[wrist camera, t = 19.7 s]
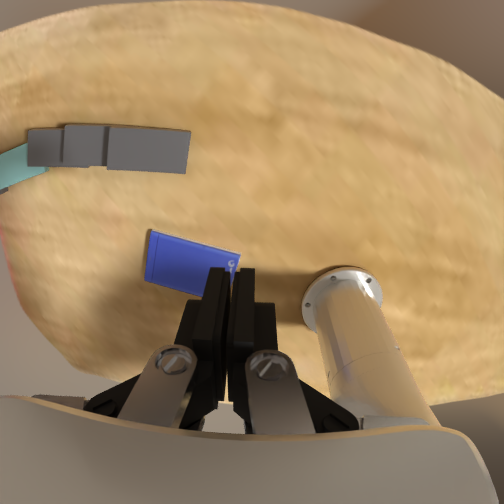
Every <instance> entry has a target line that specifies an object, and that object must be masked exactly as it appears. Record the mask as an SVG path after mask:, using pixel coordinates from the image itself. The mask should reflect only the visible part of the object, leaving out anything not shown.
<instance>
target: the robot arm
mask: <svg viewBox="0 0 504 504" xmlns="http://www.w3.org/2000/svg"><path fill="white" fill-rule="evenodd" d="M254 292H255V268H241V269H240V272H235V273H234V281H233V289H232V297H231V273H230V271H225V267H210V270H209V274H208V277H207V281H206V285H205V289H204V293H203V296H202V300H191V299H189V300H188V301H187V303H186V306H185V309H184V313H183V316H182V319H181V322H180V325H179V329H178V332H177V335H176V338H175V342H174V345H167V346H164V347H161V348H159V349H158V350H156V351H155V352H154V353H153V355H152V356H151V358H150V359H149V361H148V363H147V365H146V366H145V368H144V370H143V372H142V373H141V374H139V375H137V376H135V377H133V378H131V379H129V380H127V381H125V382H123V383H121V384H119V385H117V386H115V387H112V388H110V389H108V390H106V391H104V392H102V393H100V394H98V395H96V396H94V397H93V398H91V399H90V400H86V398H85V397H73V396H54V395H34V396H32V397H27V396H18V395H0V504H499V502H498V498H497V495H496V492H495V489H494V486H493V483H492V480H491V478H490V475H489V473H488V470H487V468H486V465H485V463H484V461H483V459H482V457H481V455H480V453H479V451H478V450H477V448H476V446H475V445H474V444H473V442H472V441H471V440H470V439H469V438H468V437H467V436H466V435H464V434H463V433H461V432H459V431H456V430H453V429H449V428H446V427H442V426H441V425H440V423H439V422H438V420H437V419H436V417H435V416H434V414H433V412H432V411H431V409H430V408H429V406H428V404H427V402H426V401H425V399H424V397H423V396H422V394H421V392H420V389H419V387H418V385H417V383H416V381H415V379H414V377H413V375H412V373H411V371H410V369H409V366H408V364H407V362H406V360H405V358H404V356H403V353H402V351H401V349H400V347H399V345H398V343H397V341H396V339H395V337H394V335H393V333H392V330H391V328H390V326H389V324H388V322H387V320H386V318H385V316H384V314H383V312H382V311H381V309H380V308H381V305H382V299H383V294H382V289H381V287H380V284H379V283H378V281H377V279H376V278H375V277H374V276H373V275H372V274H371V273H369V272H368V271H366V270H363V269H361V268H356V267H342V268H336V269H334V270H331V271H328V272H326V273H324V274H323V275H321V276H320V277H318V278H317V279H316V280H314V281H313V283H312V284H311V285H310V286H309V287H308V289H307V290H306V292H305V294H304V296H303V299H302V305H301V308H302V315H303V319H304V321H305V323H306V325H307V326H308V327H309V328H310V329H311V330H312V331H314V332H315V333H317V334H318V339H319V343H320V348H321V353H322V357H323V362H324V367H325V371H326V376H327V381H328V386H329V391H330V396H331V399H329V398H327V397H326V396H324V395H323V394H321V393H320V392H318V391H317V390H315V389H314V388H312V387H311V386H309V385H308V384H306V383H305V382H303V381H302V380H300V379H299V378H298V376H297V373H296V369H295V366H294V364H293V362H292V360H291V358H289V357H288V356H287V355H286V354H284V353H282V352H280V351H278V344H277V330H276V316H275V304H274V303H259V302H254ZM226 376H227V377H228V400H229V402H233V407H234V408H233V410H234V412H236V413H237V414H238V415H239V416H240V417H241V418H242V419H244V429H245V434H231V433H215V432H204V431H202V429H203V426H204V423H205V415H207V414H208V413H210V412H211V411H213V410H214V409H217V407H218V401H224V396H225V386H226Z"/></svg>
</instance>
